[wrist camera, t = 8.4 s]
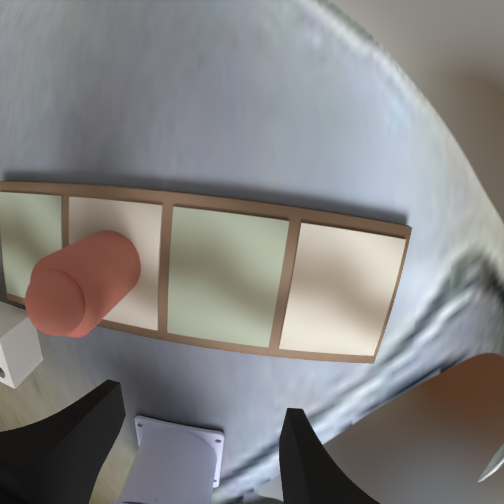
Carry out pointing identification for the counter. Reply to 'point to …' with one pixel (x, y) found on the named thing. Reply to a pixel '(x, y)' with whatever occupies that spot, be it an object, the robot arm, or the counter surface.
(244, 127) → the counter surface
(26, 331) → the die
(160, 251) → the board
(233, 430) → the counter surface
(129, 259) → the pawn
